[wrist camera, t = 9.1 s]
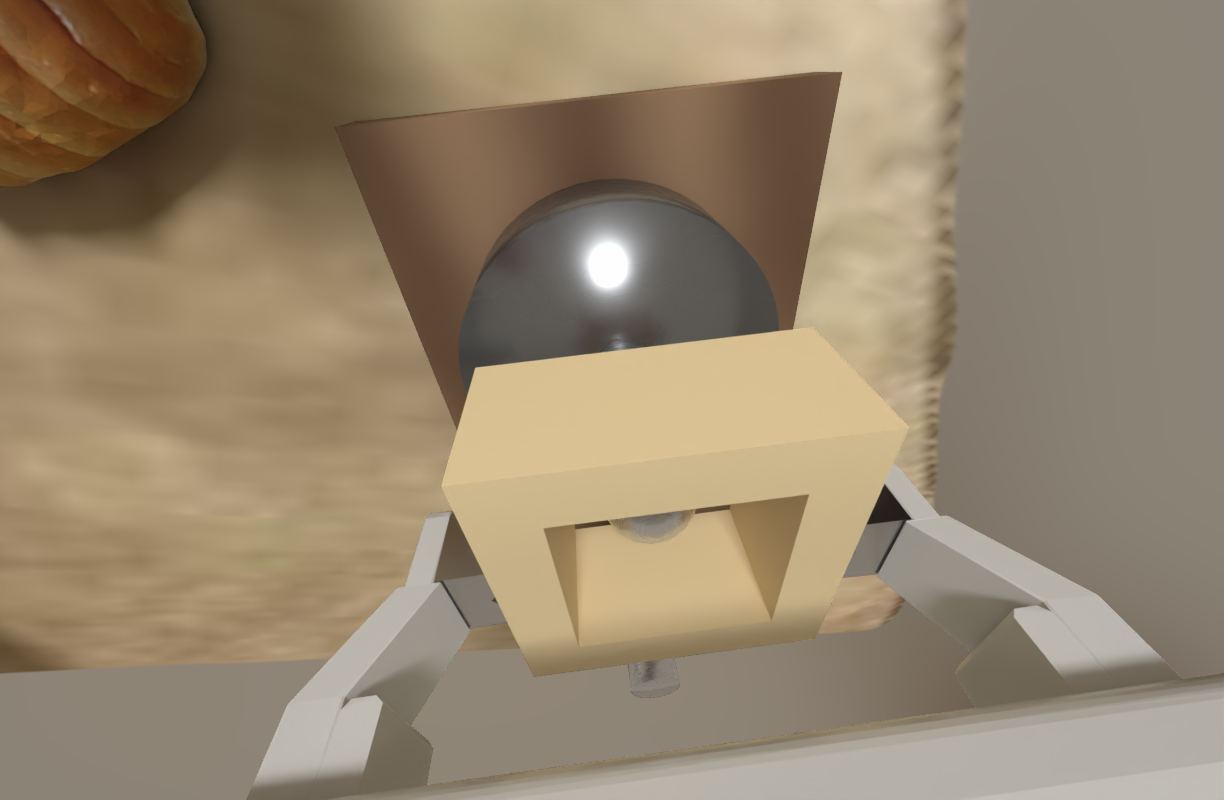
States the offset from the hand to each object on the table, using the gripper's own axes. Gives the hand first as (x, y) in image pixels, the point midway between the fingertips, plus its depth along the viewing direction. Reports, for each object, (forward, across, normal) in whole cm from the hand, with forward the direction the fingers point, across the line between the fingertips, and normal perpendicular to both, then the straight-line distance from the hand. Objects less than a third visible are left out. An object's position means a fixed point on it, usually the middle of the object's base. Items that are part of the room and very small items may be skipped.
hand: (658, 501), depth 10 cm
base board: (+10, 0, +7) cm, 12 cm away
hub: (+8, 0, 0) cm, 8 cm away
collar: (+1, 0, 0) cm, 1 cm away
